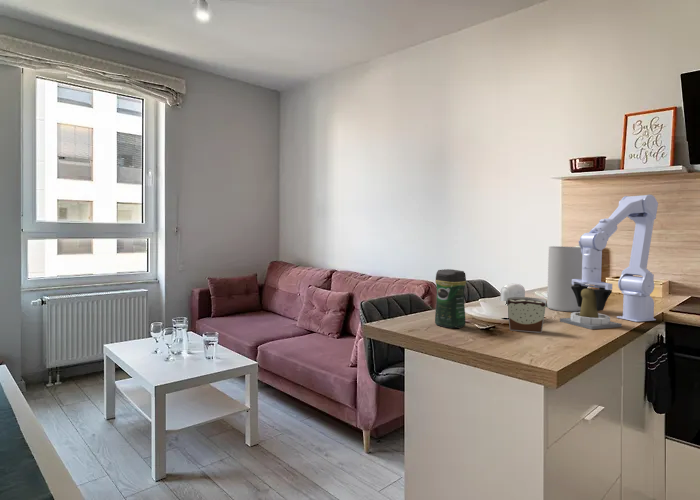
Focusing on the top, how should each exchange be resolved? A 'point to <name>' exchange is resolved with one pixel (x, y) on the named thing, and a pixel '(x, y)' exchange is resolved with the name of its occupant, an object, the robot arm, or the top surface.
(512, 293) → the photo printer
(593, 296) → the cork
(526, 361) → the top surface
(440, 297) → the coffee jar
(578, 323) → the socket holder
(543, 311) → the food container
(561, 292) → the cylinder vase
